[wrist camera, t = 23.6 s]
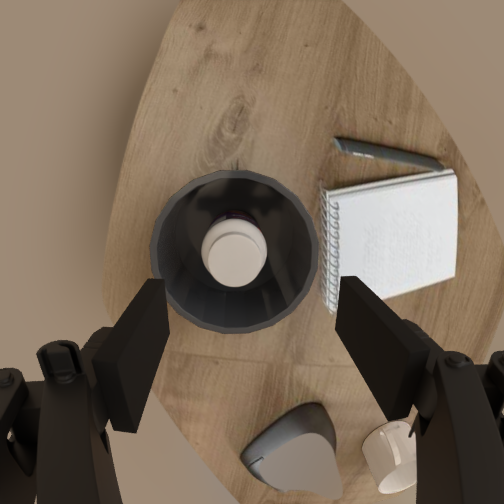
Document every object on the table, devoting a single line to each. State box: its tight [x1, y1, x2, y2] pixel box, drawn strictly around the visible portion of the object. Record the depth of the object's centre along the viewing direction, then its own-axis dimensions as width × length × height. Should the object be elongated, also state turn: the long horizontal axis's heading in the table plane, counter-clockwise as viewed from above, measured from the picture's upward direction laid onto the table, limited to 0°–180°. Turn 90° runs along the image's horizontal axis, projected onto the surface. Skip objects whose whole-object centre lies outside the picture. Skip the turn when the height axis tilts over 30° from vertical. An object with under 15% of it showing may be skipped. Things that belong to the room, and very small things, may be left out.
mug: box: [362, 421, 417, 494], centre depth 38 cm, size 12×9×9 cm
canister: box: [150, 170, 319, 334], centre depth 29 cm, size 13×13×9 cm
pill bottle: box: [201, 210, 267, 287], centre depth 28 cm, size 5×5×10 cm
